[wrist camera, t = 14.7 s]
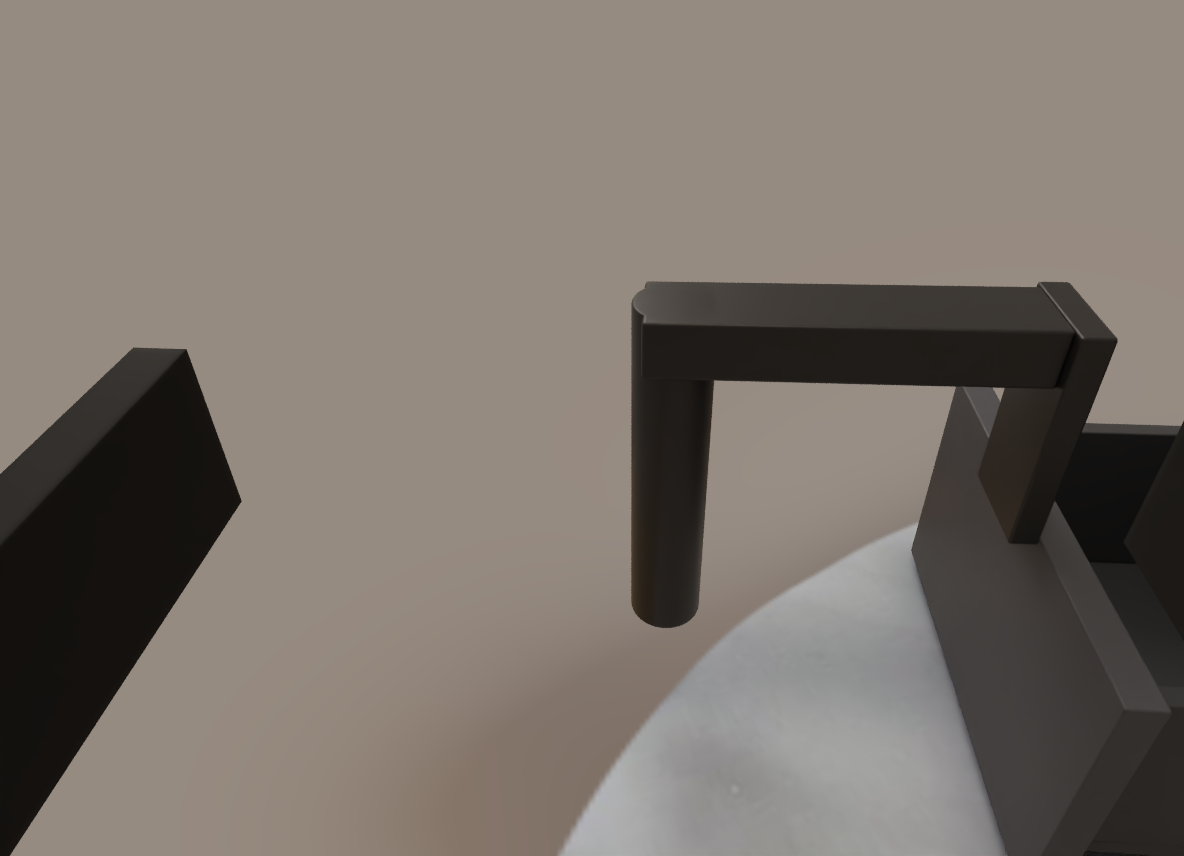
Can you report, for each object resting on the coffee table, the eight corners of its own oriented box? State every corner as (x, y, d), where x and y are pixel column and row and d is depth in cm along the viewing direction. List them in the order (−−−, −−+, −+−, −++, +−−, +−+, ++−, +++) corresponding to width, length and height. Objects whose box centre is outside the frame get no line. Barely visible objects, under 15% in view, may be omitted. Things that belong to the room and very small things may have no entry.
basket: (618, 863, 24) (612, 468, 15) (639, 538, 35) (643, 203, 26) (1556, 938, 22) (2159, 523, 13) (1262, 565, 33) (1486, 208, 24)
